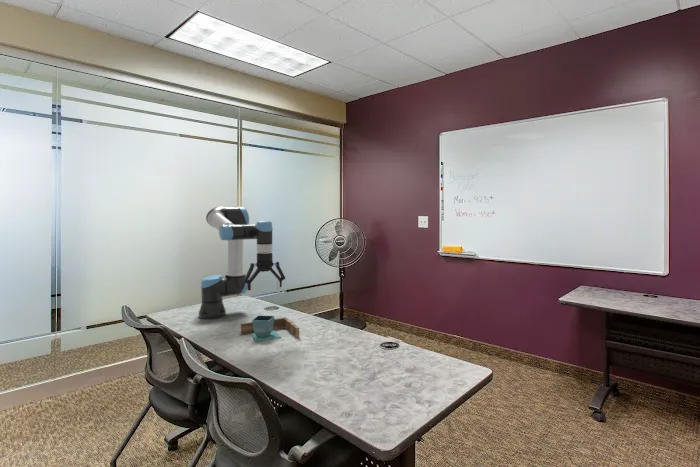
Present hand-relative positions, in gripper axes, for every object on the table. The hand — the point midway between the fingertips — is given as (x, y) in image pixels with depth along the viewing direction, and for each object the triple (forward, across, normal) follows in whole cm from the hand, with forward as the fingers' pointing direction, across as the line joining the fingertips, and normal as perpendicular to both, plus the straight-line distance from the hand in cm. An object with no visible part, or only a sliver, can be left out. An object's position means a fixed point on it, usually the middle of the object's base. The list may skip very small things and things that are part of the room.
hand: (265, 295), depth 181 cm
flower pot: (+20, -1, 0) cm, 20 cm away
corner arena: (+20, +2, 0) cm, 21 cm away
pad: (+20, 0, 0) cm, 21 cm away
